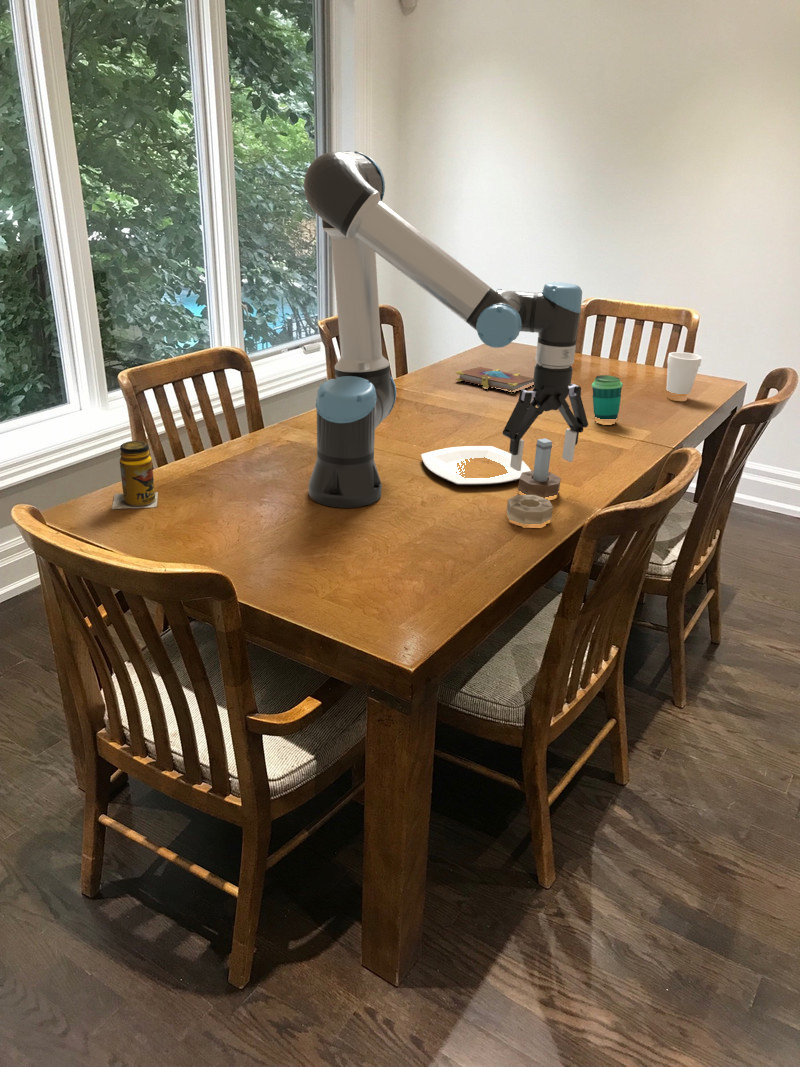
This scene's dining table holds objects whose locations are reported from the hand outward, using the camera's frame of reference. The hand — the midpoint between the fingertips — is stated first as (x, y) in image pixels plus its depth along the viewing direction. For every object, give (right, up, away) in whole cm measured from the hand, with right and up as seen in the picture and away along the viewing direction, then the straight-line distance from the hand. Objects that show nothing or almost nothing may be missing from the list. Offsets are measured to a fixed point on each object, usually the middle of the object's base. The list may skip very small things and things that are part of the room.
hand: (541, 464), depth 172 cm
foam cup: (+53, +26, +74) cm, 95 cm away
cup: (+25, +16, +50) cm, 58 cm away
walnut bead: (0, -6, +3) cm, 7 cm away
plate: (-13, -1, +14) cm, 19 cm away
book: (-2, +31, +82) cm, 88 cm away
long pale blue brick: (0, -6, +3) cm, 7 cm away
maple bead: (-4, -12, -9) cm, 16 cm away
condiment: (-83, -8, -9) cm, 84 cm away
